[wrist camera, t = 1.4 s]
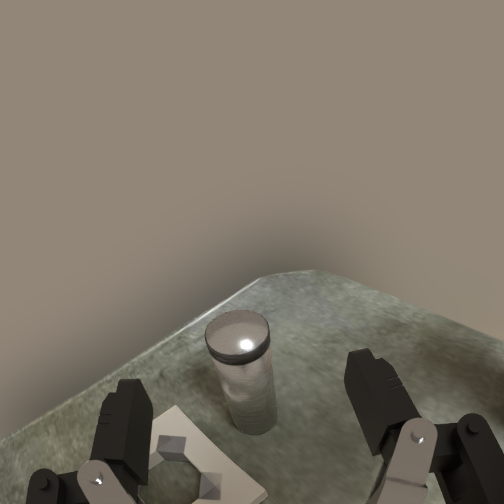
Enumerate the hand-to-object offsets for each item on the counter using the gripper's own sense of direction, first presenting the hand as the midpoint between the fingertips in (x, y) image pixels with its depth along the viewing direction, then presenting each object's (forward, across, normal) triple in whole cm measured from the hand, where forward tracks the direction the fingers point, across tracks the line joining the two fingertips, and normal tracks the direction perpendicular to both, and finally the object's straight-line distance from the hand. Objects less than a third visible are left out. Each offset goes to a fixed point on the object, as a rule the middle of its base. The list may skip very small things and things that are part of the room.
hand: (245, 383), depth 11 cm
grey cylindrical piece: (+12, 0, +21) cm, 25 cm away
